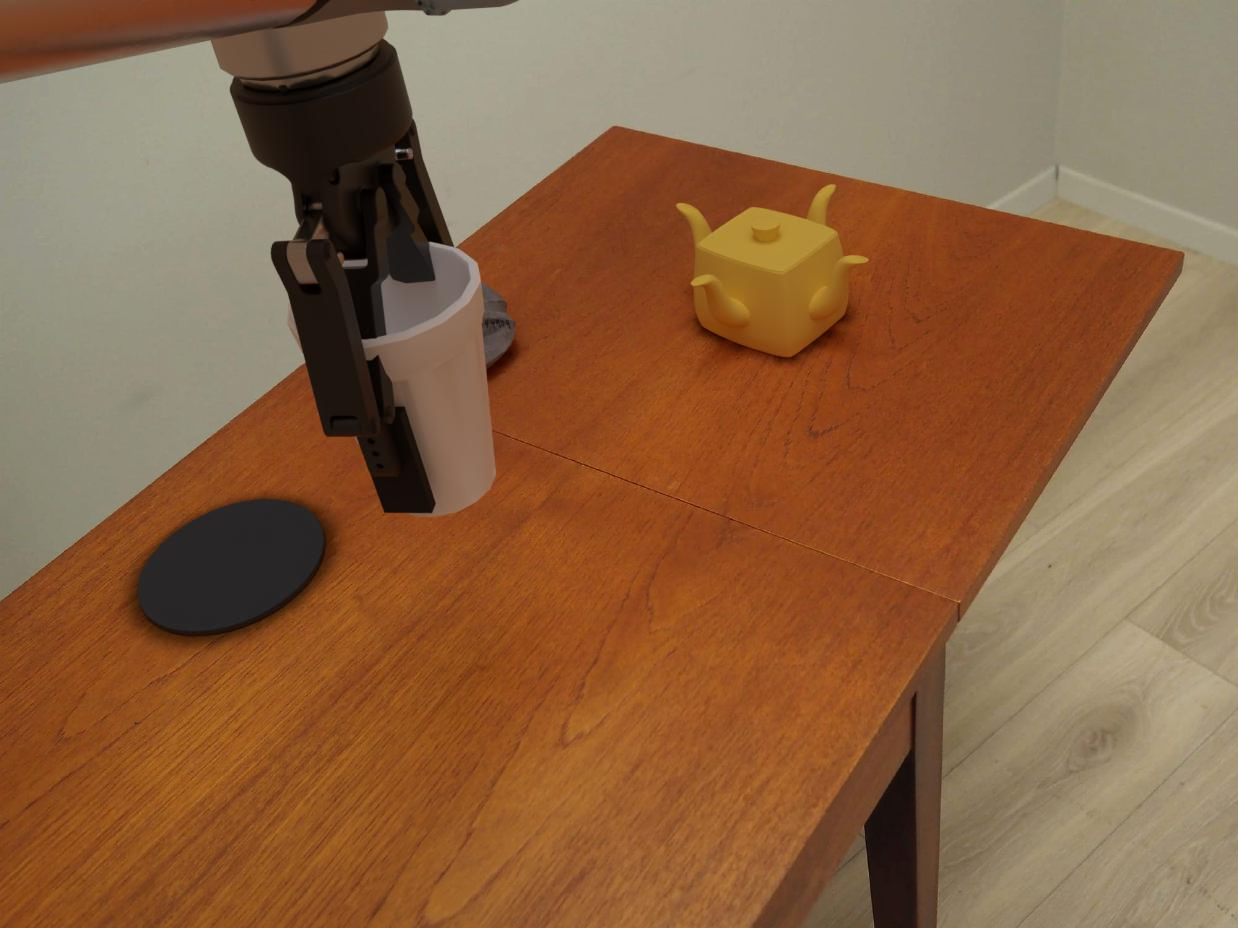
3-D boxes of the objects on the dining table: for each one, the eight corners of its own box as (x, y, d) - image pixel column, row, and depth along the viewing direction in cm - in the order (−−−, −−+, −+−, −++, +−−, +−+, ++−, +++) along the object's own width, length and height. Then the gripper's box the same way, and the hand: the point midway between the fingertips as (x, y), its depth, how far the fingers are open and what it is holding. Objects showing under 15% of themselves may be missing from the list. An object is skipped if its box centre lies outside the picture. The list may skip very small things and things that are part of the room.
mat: (212, 664, 80) (209, 659, 80) (103, 589, 88) (100, 584, 88) (363, 541, 88) (361, 537, 87) (251, 482, 96) (249, 477, 95)
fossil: (456, 410, 99) (434, 331, 94) (384, 382, 104) (359, 305, 99) (541, 343, 105) (523, 265, 100) (469, 319, 110) (449, 244, 105)
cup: (558, 444, 69) (514, 247, 60) (478, 560, 62) (416, 356, 54) (414, 421, 73) (354, 233, 64) (324, 528, 66) (244, 334, 58)
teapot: (870, 353, 97) (869, 250, 91) (701, 377, 98) (689, 276, 92) (837, 266, 108) (834, 169, 102) (686, 288, 109) (674, 193, 103)
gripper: (299, 159, 43) (445, 592, 57) (454, -30, 59) (538, 346, 73) (118, 170, 44) (303, 589, 59) (316, -16, 60) (425, 349, 74)
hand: (433, 454), depth 66 cm, fingers closed on cup, 8 cm apart
